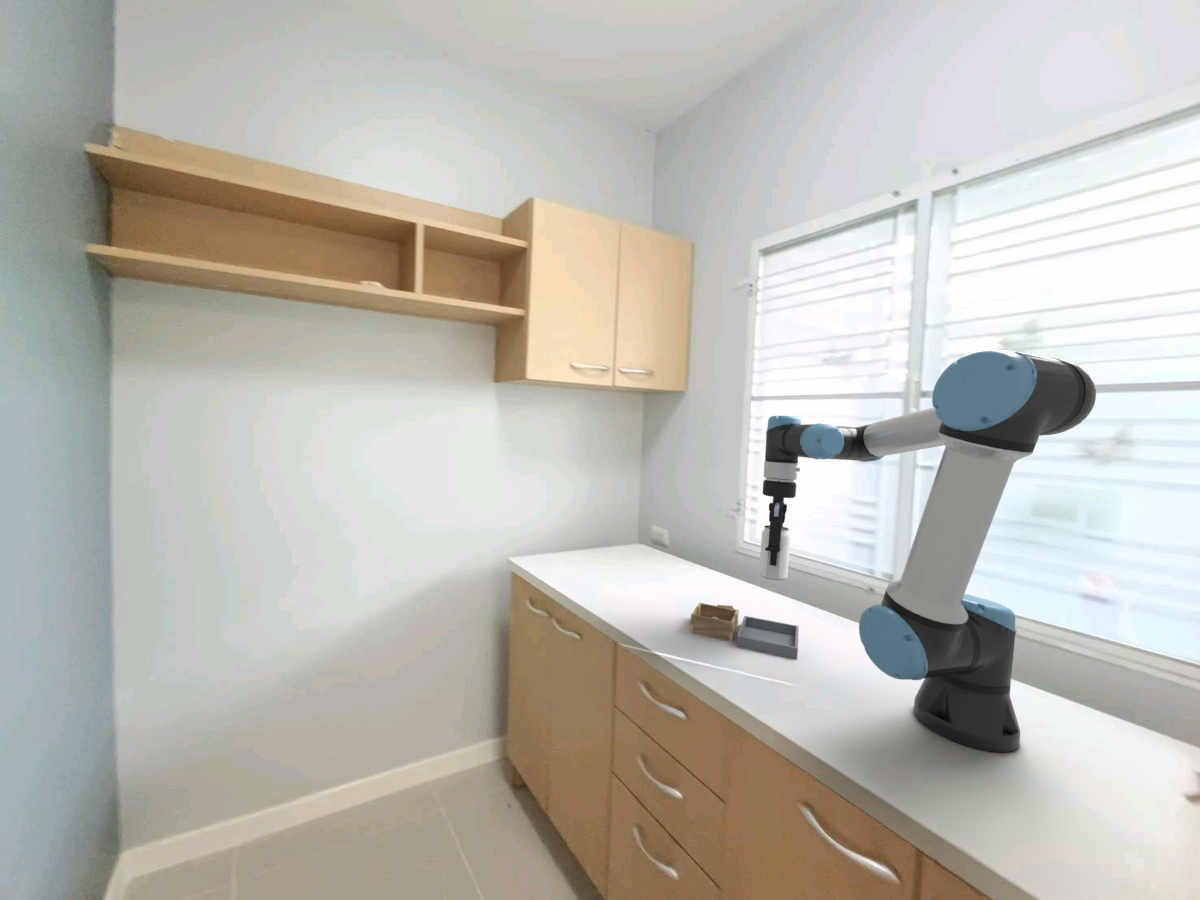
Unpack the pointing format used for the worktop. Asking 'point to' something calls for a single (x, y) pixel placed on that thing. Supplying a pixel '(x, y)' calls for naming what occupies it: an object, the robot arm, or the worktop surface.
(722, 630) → the oak bin
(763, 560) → the can
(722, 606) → the walnut block
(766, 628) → the grey tray
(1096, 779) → the worktop surface
